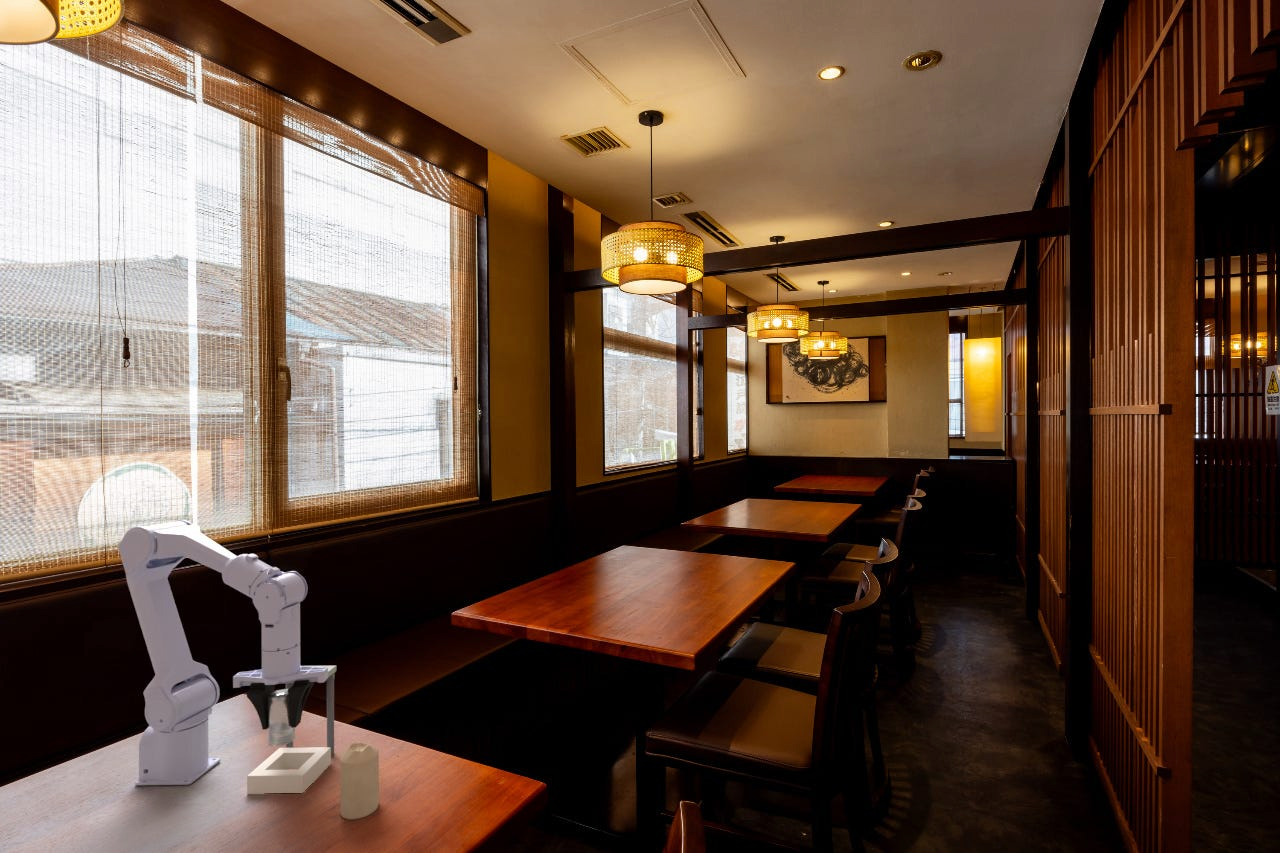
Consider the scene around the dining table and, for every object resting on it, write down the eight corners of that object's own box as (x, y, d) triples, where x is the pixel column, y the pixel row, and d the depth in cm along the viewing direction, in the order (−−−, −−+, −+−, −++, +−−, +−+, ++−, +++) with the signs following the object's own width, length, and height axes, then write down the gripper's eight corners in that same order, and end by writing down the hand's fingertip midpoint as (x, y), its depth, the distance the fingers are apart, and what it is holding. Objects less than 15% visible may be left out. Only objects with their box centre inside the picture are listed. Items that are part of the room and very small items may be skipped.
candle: (385, 799, 100) (385, 737, 100) (367, 821, 95) (366, 755, 95) (353, 798, 101) (352, 736, 101) (333, 819, 95) (332, 753, 95)
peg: (273, 736, 107) (273, 689, 108) (298, 733, 108) (298, 687, 108) (264, 747, 103) (263, 699, 104) (290, 745, 104) (289, 697, 104)
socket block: (247, 794, 102) (247, 775, 102) (279, 764, 111) (279, 747, 111) (302, 793, 102) (302, 775, 102) (330, 764, 111) (330, 747, 111)
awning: (272, 766, 111) (272, 676, 111) (288, 752, 116) (288, 666, 116) (323, 765, 111) (322, 675, 111) (336, 751, 116) (336, 665, 116)
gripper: (222, 656, 101) (223, 740, 101) (316, 651, 103) (317, 733, 103) (245, 642, 108) (245, 720, 108) (332, 637, 110) (333, 714, 110)
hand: (281, 725), depth 106 cm, fingers closed on peg, 4 cm apart
